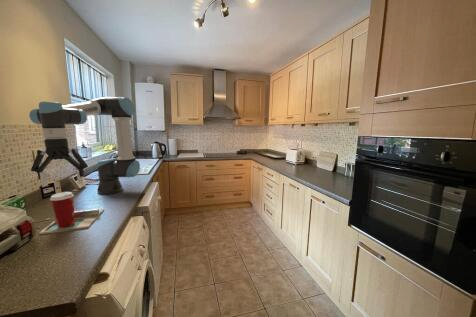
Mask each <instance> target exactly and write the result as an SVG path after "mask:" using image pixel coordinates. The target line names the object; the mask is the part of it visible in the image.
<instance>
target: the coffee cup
mask: <svg viewBox="0 0 476 317" xmlns="http://www.w3.org/2000/svg"><path fill="white" fill-rule="evenodd" d="M49 201H51V204H52V208H53V213H54V214H55V215H54V218H55V217H56V221H57V225H58V227H59V228H66V227H69V226H72V225H73V224H75V217H74V211H75V206H74V194H73V191H63V192H57V193H54V194H52V195H51V196H50V198H49Z"/></svg>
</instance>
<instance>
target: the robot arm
mask: <svg viewBox="0 0 476 317" xmlns="http://www.w3.org/2000/svg"><path fill="white" fill-rule="evenodd" d="M135 112H136V108H135V104H134V103H133V101H132V99H131V98H129V97H125V96H103V97H100V98H99V97H98V98H94V99H90V100H87V101H86V102H81V103H73V104H66V105H63V104H62V103H61V102H59V101H39V103H38V108H34V109H32V110H30V111H29V118H30V121H31V122H32V123H34V124H36V125H41V128H42V133H43V134H42V135H43V138H44V140H43V141H44V147H45V150H44V149H43V148H42V149H38V150H36V156H35V158H34V161H33V164H32V166H31V167H30V168H31V169H30V172H36V173H37V178H38V180H40V183H41V187H42V188H45V187H47V186H48V185H49V184H48V176H47V172H46V170H45V169H46V168H47V167H48V165H49V164H50V163H51V162H52V161H53V160H65V161H67V162H68V163H69V164H71V165H72V166H73V167H74V168H76V169H77V170H76V172H75V173H76V177H77V184H78V185H81V184H83V183H84V182H83V180H84V179H83V177H85V171H84V169H86V168H88V167H89V165H88V164H87V163H86V161H85V160H84V159H83V158H82V156H81V155H80V153H79V151H78V149H77V147H76V148H69V142H68V138H67V137H68V135H67V129H66V125H76V126H77V125H84V124H85V123H86V122H87V121H88V116H111V119H113V120H114V125H115V126H114V127H115V134H116V136H115V137H116V144H117V153H118V156H117V157H114V158H106V159H102V160H101V159H100V160H98V161H97V162H96V163H97V166H96V168H97V175H98V180H99V181H98V186H97V189H96V190H97V191H96V192H97V194H98V195H111V194H117V193H120V192H121V191H123V184H122V183H121V181H120V178H134V177H136V176H137V175H139V172H140V169H141V164H140V161H138V160H136V158H137V157H136V156H134V154H133V144H132V142H133V141H132V134H131V123H130V121H131V119H132V117H133V116H134V115H135ZM70 153H71V154H72V155H73V157H74V158H73V157H72V156H71V155H70ZM45 154H46V155H47V157H46V158H45V160H44V161H43V159H44V156H45ZM42 161H43V162H42ZM44 170H45V171H44Z"/></svg>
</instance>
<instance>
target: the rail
mask: <svg viewBox="0 0 476 317" xmlns="http://www.w3.org/2000/svg"><path fill="white" fill-rule="evenodd" d="M99 210H100V209H99V208H94V209H93V208H92V209H84V210H74V217H75V218H80V217H89V216H98V215H99ZM54 218H55V219H54V221H55V220H56V217H55V213H54Z"/></svg>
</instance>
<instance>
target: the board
mask: <svg viewBox="0 0 476 317" xmlns="http://www.w3.org/2000/svg"><path fill="white" fill-rule="evenodd" d="M104 211H105V209H99V215H98V216H89V217H80V218H75V224H73V225H72V226H69V227H66V228H59V227H58V225H57V221H56V220H55V219H54V221H53V222H51V223H50V224H48V225H47V226H46V227H45V228H43V229H42V230H41V231H39V232H38V234H39V235H46V234H54V233H62V232H70V231H77V230H78V231H79V230H86V229H90V227H91V226H92V225H93V224H94V222H95V221H97V219H98V218H100V216H101V215H102V213H103V212H104Z"/></svg>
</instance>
